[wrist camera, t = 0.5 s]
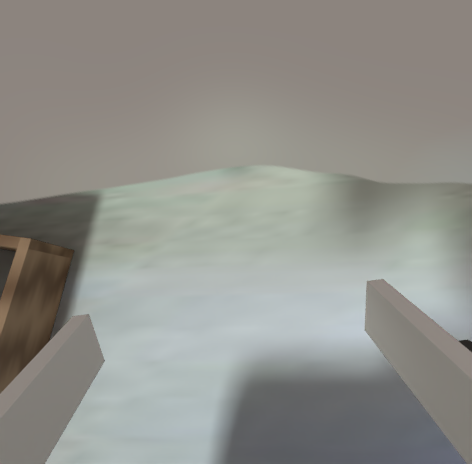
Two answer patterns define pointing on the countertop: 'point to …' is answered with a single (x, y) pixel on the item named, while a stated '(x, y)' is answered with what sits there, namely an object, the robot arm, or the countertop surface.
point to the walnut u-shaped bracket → (29, 301)
